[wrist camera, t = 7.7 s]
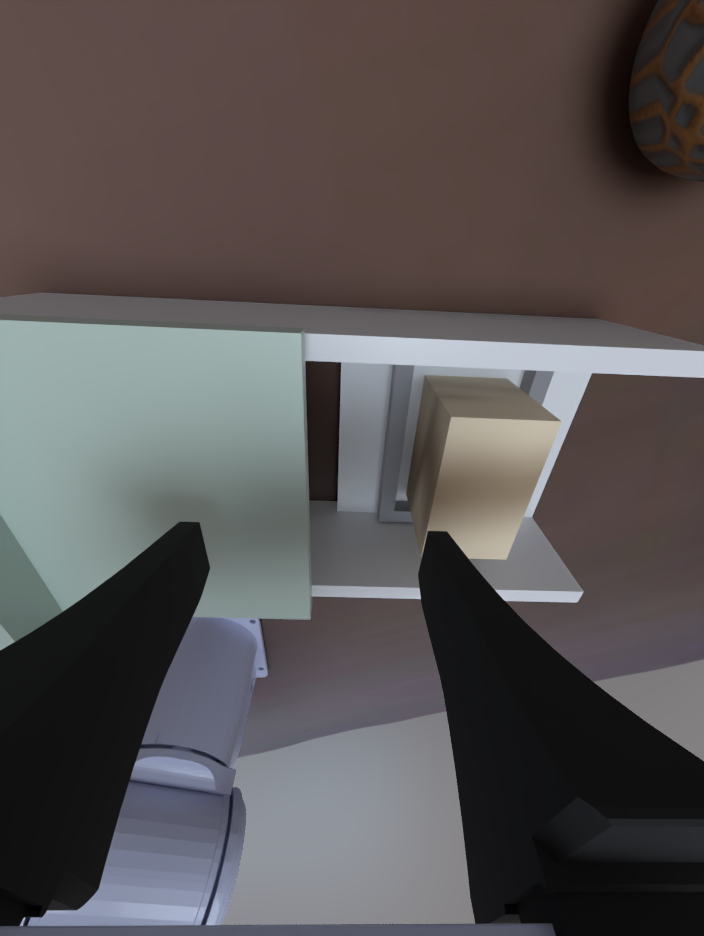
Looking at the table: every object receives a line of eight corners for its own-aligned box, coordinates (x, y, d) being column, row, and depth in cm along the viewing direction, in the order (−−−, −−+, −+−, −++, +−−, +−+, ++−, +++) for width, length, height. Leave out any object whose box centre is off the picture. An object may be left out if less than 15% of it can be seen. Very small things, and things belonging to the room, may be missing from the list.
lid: (312, 604, 16) (305, 664, 14) (54, 598, 16) (3, 658, 14) (304, 327, 10) (290, 351, 7) (-132, 308, 9) (-295, 326, 7)
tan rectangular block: (473, 495, 20) (506, 559, 16) (405, 493, 20) (420, 557, 16) (507, 378, 16) (561, 421, 12) (424, 374, 16) (451, 417, 12)
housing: (520, 516, 22) (577, 602, 17) (123, 504, 22) (47, 590, 16) (599, 318, 16) (730, 352, 10) (41, 292, 15) (-134, 313, 10)
